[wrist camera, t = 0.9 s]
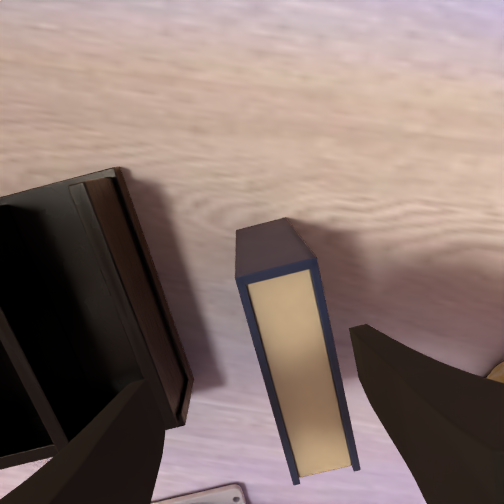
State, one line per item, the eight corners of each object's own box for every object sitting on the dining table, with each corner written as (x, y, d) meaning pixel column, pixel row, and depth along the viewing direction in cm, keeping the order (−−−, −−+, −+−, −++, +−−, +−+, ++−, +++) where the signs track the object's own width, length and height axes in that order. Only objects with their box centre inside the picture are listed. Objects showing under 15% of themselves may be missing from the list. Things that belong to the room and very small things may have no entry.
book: (318, 362, 23) (360, 470, 15) (274, 373, 23) (293, 485, 15) (286, 217, 20) (316, 257, 12) (235, 230, 20) (234, 277, 12)
